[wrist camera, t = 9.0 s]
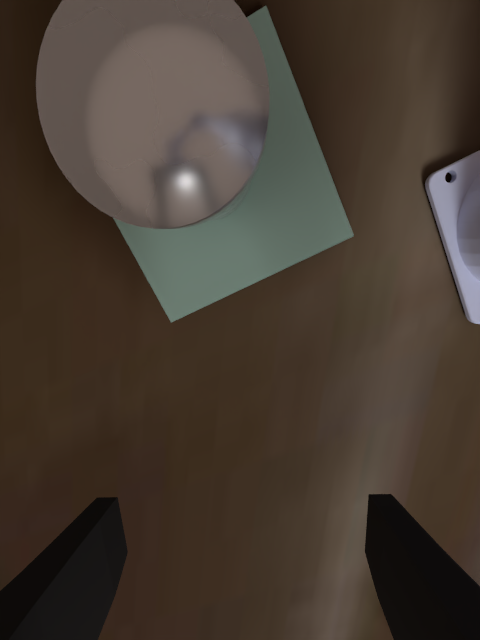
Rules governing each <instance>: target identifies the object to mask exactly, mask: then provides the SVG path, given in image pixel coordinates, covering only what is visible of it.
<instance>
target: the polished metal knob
mask: <svg viewBox="0 0 480 640" xmlns="http://www.w3.org/2000/svg"><path fill="white" fill-rule="evenodd" d="M36 96H37V106H38V112H39V118H40V122H41V126H42V130H43V133H44V136H45V139H46V141H47V144H48V147H49V149H50V151H51V153H52V155H53V157H54V159H55V161H56V163H57V165H58V166H59V168H60V169H61V171H62V172H63V174H64V175H65V177H66V178H67V180H68V181H69V182H70V183H71V184H72V186H73V187H74V188H75V189H76V190H77V191H78V192H79V193H80V194H81V195H82V196H83V197H84V198H85V199H86V200H87V201H88V202H89V203H91V204H92V205H94V206H95V207H96V208H98V209H99V210H100V211H102V212H104V213H106V214H107V215H109V216H111V217H113V218H115V219H117V220H120V221H122V222H125V223H127V224H131V225H135V226H139V227H145V228H153V229H182V228H189V227H193V226H196V225H199V224H202V223H204V222H207V221H213V220H218V219H222V218H224V217H226V216H228V215H230V214H232V213H233V212H234V211H235V210H237V208H238V207H239V206H240V205H241V204H242V202H243V201H244V199H245V198H246V196H247V193H248V191H249V187H250V183H251V180H252V178H253V177H254V175H255V173H256V171H257V169H258V166H259V163H260V161H261V158H262V155H263V151H264V147H265V143H266V136H267V128H268V119H269V96H270V93H269V83H268V74H267V70H266V65H265V61H264V56H263V54H262V51H261V48H260V45H259V42H258V39H257V37H256V35H255V33H254V31H253V29H252V27H251V25H250V23H249V21H248V20H247V18H246V16H245V15H244V13H243V12H242V10H241V9H240V7H239V6H238V5H237V4H236V2H235V1H234V0H62V2H61V3H60V5H59V6H58V8H57V9H56V11H55V13H54V14H53V16H52V18H51V20H50V23H49V25H48V27H47V29H46V31H45V35H44V38H43V41H42V44H41V47H40V52H39V58H38V63H37V74H36Z"/></svg>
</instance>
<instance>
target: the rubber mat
mask: <svg viewBox="0 0 480 640" xmlns="http://www.w3.org/2000/svg"><path fill="white" fill-rule="evenodd" d="M247 20H248V21H249V23H250V25H251V27H252V29H253V31H254V33H255V35H256V37H257V39H258V42H259V45H260V48H261V51H262V54H263V56H264V61H265V65H266V70H267V74H268V83H269V93H270V96H269V119H268V128H267V136H266V143H265V147H264V151H263V155H262V158H261V161H260V163H259V166H258V169H257V171H256V173H255V175H254V177H253V178H252V180H251V183H250V187H249V191H248V193H247V196H246V198H245V199H244V201H243V202H242V204H241V205H240V206H239V207H238V208H237V210H235V211H234V212H233V213H232V214H230V215H228V216H226V217H224V218H222V219H218V220H213V221H207V222H204V223H202V224H199V225H196V226H193V227H189V228H182V229H153V228H145V227H139V226H135V225H131V224H127V223H125V222H122V221H120V220H117V219H115V218H114V220H115V222H116V224H117V226H118V228H119V229H120V231H121V233H122V235H123V237H124V238H125V240H126V242H127V244H128V246H129V247H130V249H131V251H132V253H133V255H134V256H135V258H136V260H137V262H138V264H139V265H140V267H141V269H142V271H143V273H144V274H145V276H146V278H147V280H148V282H149V283H150V285H151V287H152V289H153V291H154V292H155V294H156V296H157V298H158V300H159V301H160V303H161V305H162V307H163V309H164V311H165V312H166V314H167V316H168V318H169V320H170V321H171V322H173V321H175V320H177V319H180V318H182V317H184V316H186V315H188V314H190V313H192V312H194V311H196V310H199V309H201V308H203V307H205V306H207V305H209V304H211V303H213V302H215V301H218V300H220V299H222V298H224V297H226V296H228V295H230V294H232V293H235V292H237V291H239V290H241V289H243V288H245V287H247V286H249V285H251V284H254V283H256V282H258V281H260V280H262V279H264V278H266V277H268V276H270V275H273V274H275V273H277V272H279V271H281V270H283V269H285V268H287V267H289V266H292V265H294V264H296V263H298V262H300V261H302V260H304V259H306V258H308V257H311V256H313V255H315V254H317V253H319V252H321V251H323V250H325V249H327V248H330V247H332V246H334V245H336V244H338V243H340V242H342V241H344V240H346V239H349V238H351V237H353V236H354V235H353V232H352V229H351V227H350V224H349V222H348V219H347V216H346V214H345V211H344V208H343V206H342V203H341V201H340V198H339V195H338V193H337V190H336V187H335V185H334V182H333V180H332V177H331V174H330V172H329V169H328V166H327V164H326V161H325V159H324V156H323V153H322V151H321V148H320V145H319V143H318V140H317V138H316V135H315V132H314V130H313V127H312V125H311V122H310V119H309V117H308V114H307V111H306V109H305V106H304V104H303V101H302V98H301V96H300V93H299V90H298V88H297V85H296V83H295V80H294V77H293V75H292V72H291V69H290V67H289V64H288V62H287V59H286V56H285V54H284V51H283V48H282V46H281V43H280V41H279V38H278V35H277V33H276V30H275V28H274V25H273V22H272V20H271V17H270V14H269V12H268V9H267V7H266V6H264V7H263V8H261V9H260V10H258V11H256V12H255V13H253V14H251V15H250V16H248V17H247Z"/></svg>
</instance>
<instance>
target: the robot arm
mask: <svg viewBox="0 0 480 640" xmlns="http://www.w3.org/2000/svg"><path fill="white" fill-rule="evenodd" d="M447 172H448V173H450V174H451V176H452V179H451V181H450V182H449V183H448V182H446V180H445V176H446V173H447ZM425 188H426V191H427V195H428V198H429V201H430V204H431V207H432V210H433V213H434V217H435V220H436V223H437V226H438V229H439V232H440V236H441V239H442V242H443V245H444V248H445V251H446V255H447V258H448V261H449V264H450V267H451V270H452V274H453V277H454V280H455V283H456V286H457V289H458V292H459V296H460V299H461V302H462V305H463V308H464V311H465V315H466V317H467V319H468V320H469V321H470V322H473V323H475V324H480V150H479V151H477V152H475V153H473V154H471V155H469V156H466V157H464V158H462V159H460V160H458V161H456V162H454V163H452V164H450V165H448V166H446V167H444V168H442V169H440V170H438V171H436V172H433V173H432V174H430V175H429V176H428V178H427V179H426V182H425ZM127 552H128V551H127V546H126V540H125V535H124V530H123V524H122V519H121V514H120V508H119V503H118V497H111V498H96V499H95V500H94V501H93V502H92V503H91V504H90V505H89V506H88V507H87V508H86V509H85V510H84V511H83V512H82V513H81V514H80V515H79V516H78V517H77V518H76V519H75V520H74V521H73V522H72V523H71V524H70V525H69V526H68V527H67V528H66V529H65V530H64V531H63V532H62V533H61V534H60V535H59V536H58V537H57V538H56V539H55V540H54V541H53V542H52V543H51V544H50V545H49V546H48V547H47V548H46V549H45V550H44V551H42V552H41V553H40V554H39V555H38V556H37V557H36V558H35V559H34V560H33V561H32V562H31V563H30V564H29V565H28V566H27V567H26V568H25V569H24V570H23V571H22V572H21V573H20V574H19V575H17V576H16V577H15V578H14V579H13V580H12V581H11V582H10V583H9V584H8V585H6V586H5V587H4V588H3V589H2V590H1V591H0V640H98V637H99V635H100V632H101V630H102V627H103V625H104V622H105V620H106V617H107V615H108V612H109V610H110V607H111V604H112V602H113V599H114V597H115V594H116V590H117V587H118V584H119V580H120V577H121V574H122V570H123V567H124V563H125V560H126V556H127ZM365 553H366V557H367V561H368V564H369V568H370V571H371V575H372V579H373V582H374V585H375V589H376V592H377V596H378V599H379V601H380V604H381V607H382V609H383V612H384V615H385V617H386V620H387V623H388V625H389V628H390V630H391V633H392V636H393V638H394V640H480V586H479V585H478V584H477V583H476V582H475V581H474V580H473V579H472V578H471V577H470V576H469V575H468V574H467V573H466V572H465V571H464V570H463V569H462V568H461V567H460V566H459V565H458V564H457V563H456V562H455V561H454V560H453V559H452V558H451V557H450V556H449V555H448V554H447V553H446V552H445V551H444V550H443V549H442V548H441V547H440V546H439V545H438V544H437V543H436V542H435V540H434V539H433V538H432V537H431V536H430V535H429V534H428V533H427V532H426V531H425V530H424V529H423V528H422V527H421V526H420V525H419V523H418V522H417V521H416V520H415V519H414V518H413V517H412V516H411V515H410V514H409V513H408V512H407V510H406V509H405V508H404V507H403V506H402V505H401V504H400V503H399V502H398V501H397V500H396V499H395V498H394V497H393V496H392V495H391V494H369V499H368V514H367V529H366V543H365Z"/></svg>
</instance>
